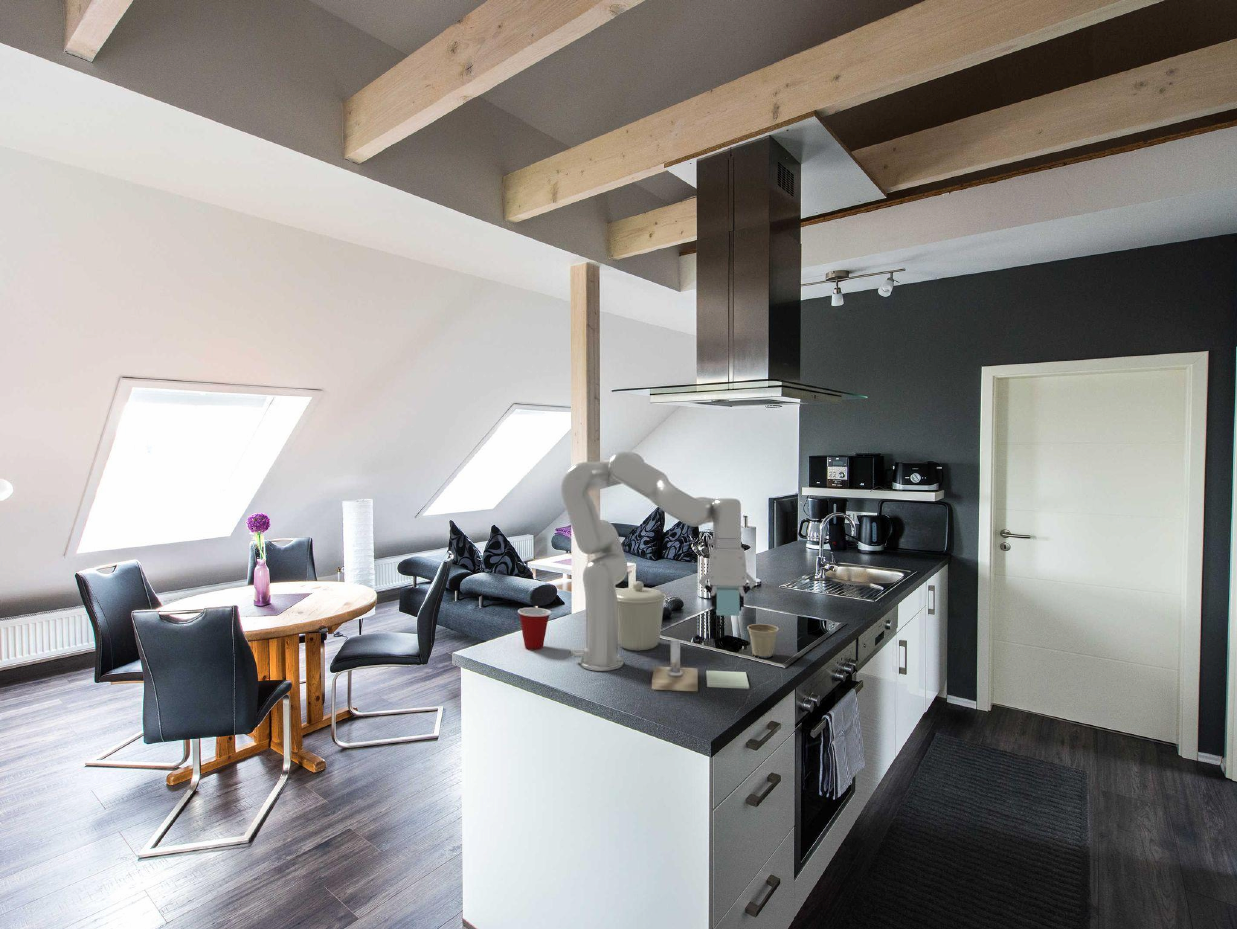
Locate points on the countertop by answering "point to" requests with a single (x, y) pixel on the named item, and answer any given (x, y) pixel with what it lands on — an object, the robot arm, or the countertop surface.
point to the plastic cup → (534, 626)
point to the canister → (639, 617)
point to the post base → (675, 679)
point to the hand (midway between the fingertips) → (727, 608)
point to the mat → (727, 679)
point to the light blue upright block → (728, 601)
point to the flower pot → (762, 638)
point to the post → (675, 660)
